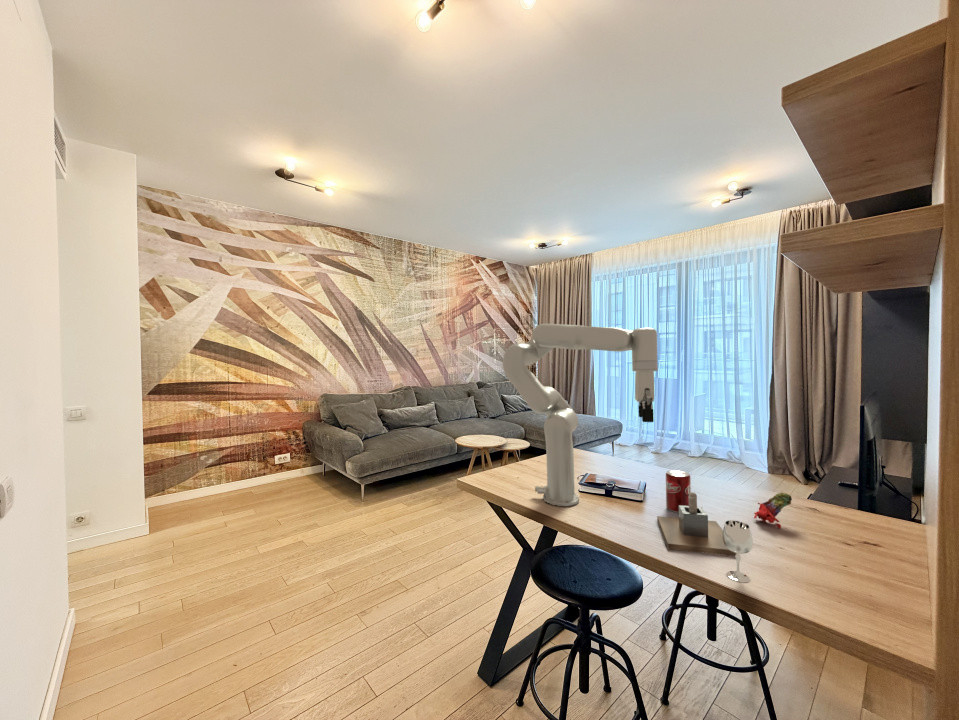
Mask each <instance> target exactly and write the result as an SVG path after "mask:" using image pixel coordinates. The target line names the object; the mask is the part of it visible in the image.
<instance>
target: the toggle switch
mask: <svg viewBox="0 0 959 720" xmlns="http://www.w3.org/2000/svg"><path fill="white" fill-rule="evenodd" d="M697 498H698V497H697V494H696V492H693V491H692V492H691V493H689V512H690V513H697V507H698V499H697ZM656 518H657V519H656V520H657V524H658V526H659V528H660V529H659V530H660V532H661V534H662V537H663V540H664V543H665V545H666V547H667V550H675V551H683V552H691V553H692V552H693V553H701V554H708V555H709V554H710V555H718V556H719V555H720V556H727V557H729V556H730V557H735V555H736V553H735V552H733V551H731V550H729V549H728V548H727V547H726V546H725V544H724V542H723V529H722V527H721V526H720V525H719V523H718V521H716V520H708V538H707V537H697V536H686V535H683V533H682V531H681V529H680V527H679V517H672V516H671V517H670V516H660V515H658V516H656Z"/></svg>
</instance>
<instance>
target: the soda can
mask: <svg viewBox="0 0 959 720" xmlns="http://www.w3.org/2000/svg"><path fill="white" fill-rule="evenodd" d="M691 479H692V478H691V475H690V474H689V473H688V472H686V471H683V470H667V471H666V472H665V501H666V503H665V504H666V505H665V507H666V508H667V510H668V511H671V512H673V513H676V514H679V505H681V506H689V493H691V491H692V488H691V487H692V486H691V484H692V483H691Z"/></svg>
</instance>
